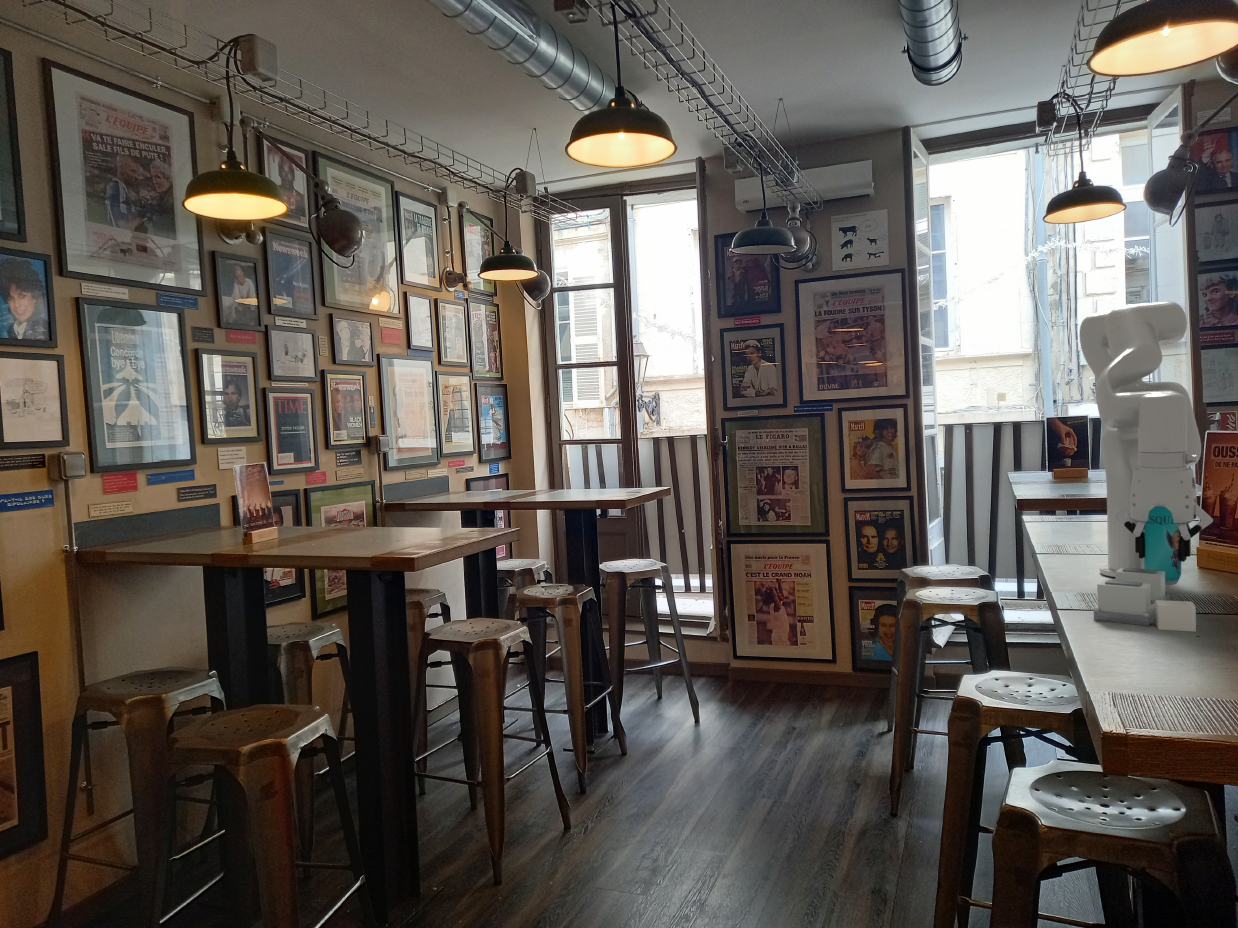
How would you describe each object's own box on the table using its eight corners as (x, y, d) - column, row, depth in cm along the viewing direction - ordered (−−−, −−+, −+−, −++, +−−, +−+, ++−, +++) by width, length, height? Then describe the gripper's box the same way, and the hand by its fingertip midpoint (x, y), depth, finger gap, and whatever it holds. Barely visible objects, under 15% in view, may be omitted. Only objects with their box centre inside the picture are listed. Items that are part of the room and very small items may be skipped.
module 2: (1120, 592, 158) (1120, 566, 158) (1165, 596, 153) (1165, 569, 153) (1115, 596, 155) (1115, 570, 155) (1161, 600, 150) (1160, 573, 150)
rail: (1118, 599, 159) (1118, 589, 158) (1169, 604, 153) (1169, 593, 153) (1093, 619, 145) (1093, 608, 145) (1148, 625, 140) (1148, 613, 140)
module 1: (1103, 606, 148) (1103, 578, 148) (1150, 610, 143) (1150, 582, 143) (1097, 610, 145) (1097, 582, 145) (1145, 615, 140) (1145, 586, 140)
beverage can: (1169, 587, 155) (1169, 505, 154) (1137, 581, 160) (1137, 502, 159) (1188, 582, 158) (1188, 501, 156) (1156, 577, 163) (1156, 498, 162)
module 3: (1155, 624, 141) (1155, 599, 141) (1191, 626, 139) (1191, 601, 139) (1158, 629, 138) (1158, 605, 137) (1195, 632, 135) (1195, 607, 135)
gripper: (1222, 459, 154) (1222, 559, 156) (1113, 458, 165) (1114, 551, 167) (1216, 464, 149) (1216, 567, 150) (1104, 462, 160) (1105, 558, 162)
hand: (1162, 557), depth 159 cm, fingers closed on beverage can, 5 cm apart
